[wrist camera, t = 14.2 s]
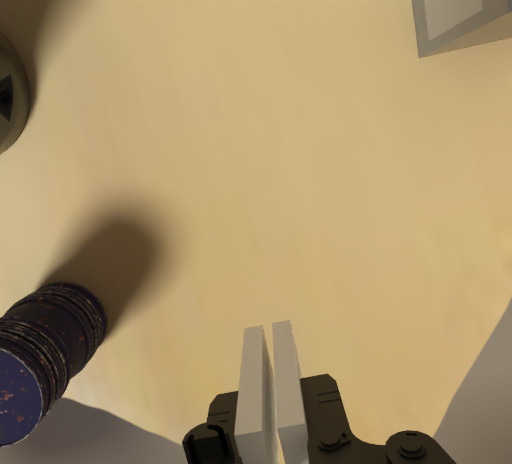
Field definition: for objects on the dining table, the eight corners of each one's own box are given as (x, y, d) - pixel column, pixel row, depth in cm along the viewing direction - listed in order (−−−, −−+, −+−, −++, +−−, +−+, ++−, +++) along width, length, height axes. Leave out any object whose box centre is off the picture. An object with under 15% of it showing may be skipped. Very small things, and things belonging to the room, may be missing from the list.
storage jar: (121, 345, 50) (63, 431, 36) (46, 369, 51) (-41, 462, 36) (87, 269, 48) (11, 326, 34) (10, 295, 49) (-98, 362, 34)
